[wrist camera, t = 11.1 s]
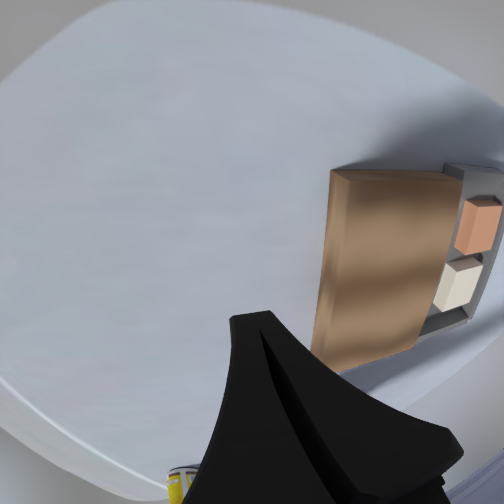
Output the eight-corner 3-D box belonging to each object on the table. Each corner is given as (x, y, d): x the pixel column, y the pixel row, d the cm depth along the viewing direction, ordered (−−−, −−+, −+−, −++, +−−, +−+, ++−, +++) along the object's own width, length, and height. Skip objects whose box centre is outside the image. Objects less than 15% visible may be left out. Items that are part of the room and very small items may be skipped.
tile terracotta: (465, 255, 22) (454, 246, 23) (490, 249, 23) (480, 242, 24) (477, 206, 20) (465, 199, 21) (502, 205, 21) (490, 199, 22)
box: (459, 310, 29) (470, 321, 27) (403, 329, 27) (414, 343, 25) (499, 169, 21) (516, 176, 19) (444, 162, 19) (464, 170, 18)
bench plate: (400, 331, 27) (413, 347, 25) (309, 355, 26) (319, 376, 23) (441, 172, 20) (463, 182, 18) (330, 170, 18) (350, 181, 16)
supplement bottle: (168, 479, 35) (176, 538, 26) (163, 466, 32) (171, 532, 23) (205, 477, 36) (217, 536, 27) (204, 465, 33) (217, 530, 25)
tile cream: (442, 312, 25) (432, 302, 26) (469, 302, 26) (460, 294, 27) (456, 272, 23) (446, 263, 24) (483, 265, 23) (473, 257, 25)
